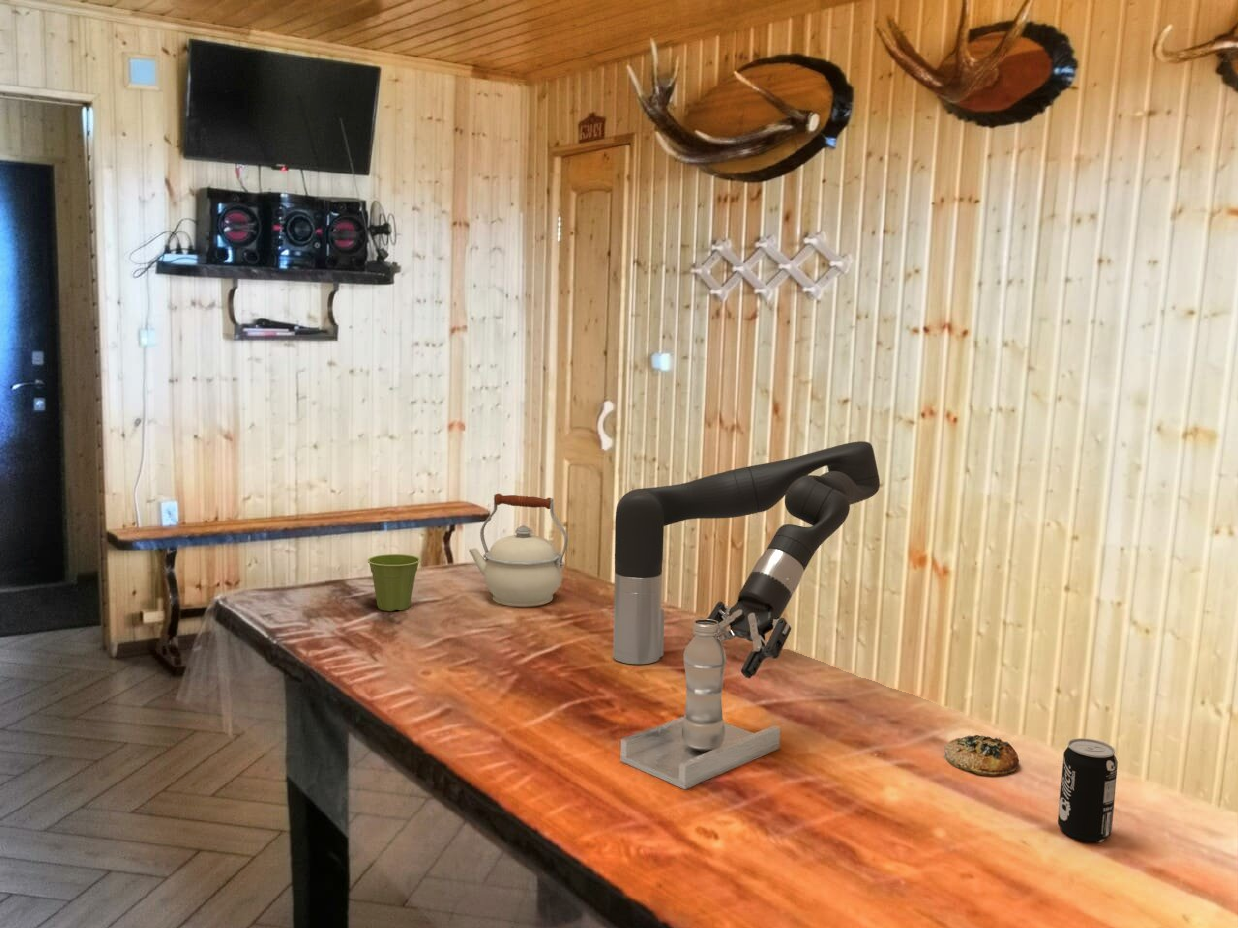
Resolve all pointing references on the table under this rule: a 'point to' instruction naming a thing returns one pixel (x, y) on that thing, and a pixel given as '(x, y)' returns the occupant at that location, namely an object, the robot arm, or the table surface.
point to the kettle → (521, 560)
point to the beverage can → (1088, 790)
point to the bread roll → (982, 755)
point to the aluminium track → (694, 752)
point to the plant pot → (393, 580)
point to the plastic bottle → (704, 688)
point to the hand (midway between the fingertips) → (723, 668)
